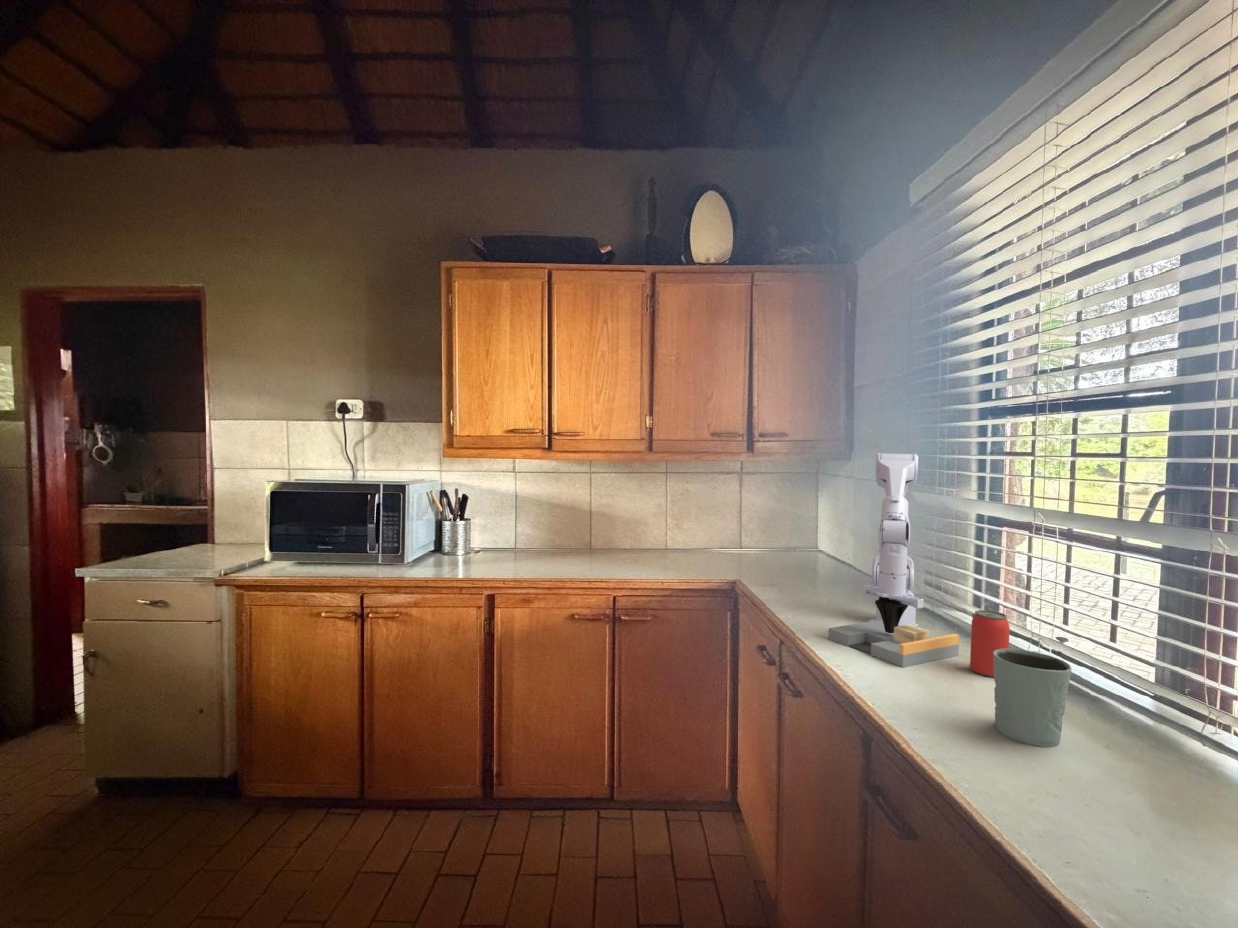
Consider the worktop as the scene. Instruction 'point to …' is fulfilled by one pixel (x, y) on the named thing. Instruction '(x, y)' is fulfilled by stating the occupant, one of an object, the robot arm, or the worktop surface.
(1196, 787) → the worktop surface
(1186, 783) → the worktop surface
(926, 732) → the worktop surface
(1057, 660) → the grey green oval vase
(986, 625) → the beer can
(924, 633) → the birch block
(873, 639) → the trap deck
